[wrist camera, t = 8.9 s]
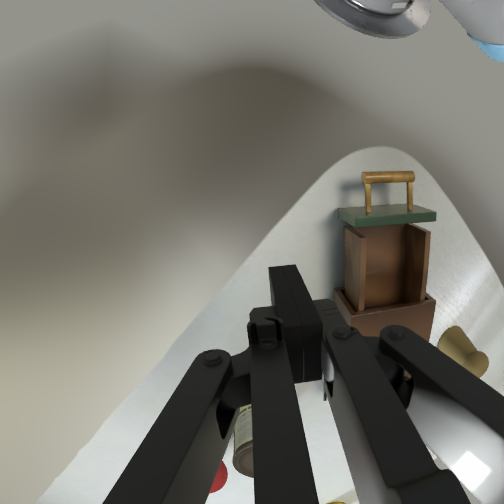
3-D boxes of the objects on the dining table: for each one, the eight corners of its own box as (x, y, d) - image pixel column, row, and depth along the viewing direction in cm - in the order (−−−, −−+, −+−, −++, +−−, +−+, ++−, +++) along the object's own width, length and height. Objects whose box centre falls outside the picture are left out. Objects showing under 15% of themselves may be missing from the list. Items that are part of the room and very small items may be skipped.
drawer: (335, 171, 38) (352, 173, 32) (410, 169, 38) (436, 172, 32) (338, 313, 44) (352, 336, 38) (405, 302, 44) (426, 322, 38)
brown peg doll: (456, 320, 47) (489, 350, 36) (465, 337, 48) (496, 367, 37) (433, 342, 48) (463, 376, 37) (443, 358, 49) (471, 391, 39)
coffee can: (305, 397, 50) (319, 458, 36) (263, 426, 52) (268, 485, 38) (264, 368, 48) (269, 433, 34) (222, 400, 50) (217, 463, 36)
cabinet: (333, 288, 44) (351, 316, 36) (408, 278, 44) (436, 300, 36) (330, 376, 49) (343, 410, 40) (397, 363, 49) (416, 392, 40)
